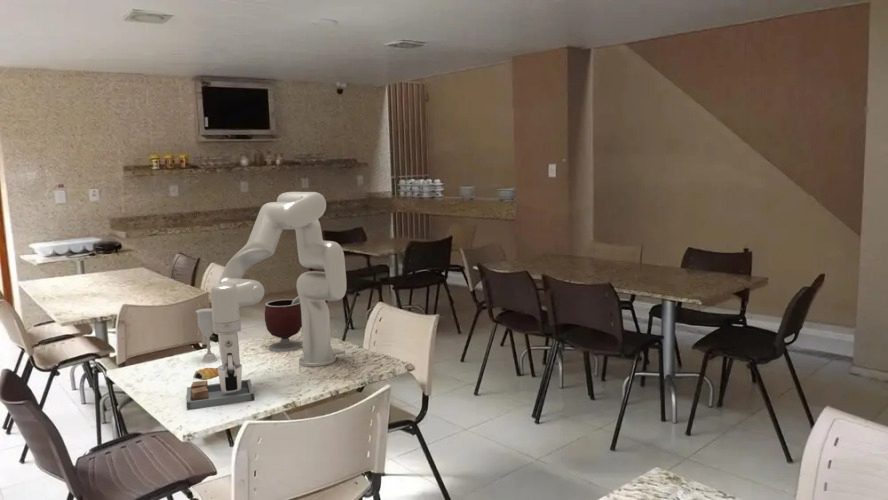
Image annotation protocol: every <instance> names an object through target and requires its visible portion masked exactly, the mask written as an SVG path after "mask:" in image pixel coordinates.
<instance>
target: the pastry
mask: <svg viewBox="0 0 888 500" xmlns="http://www.w3.org/2000/svg"><path fill="white" fill-rule="evenodd" d="M217 377H219V374H218V367H216V368H215V367H205V368H204V367H203V368H201V369H198V370H196V371H195V372H194V374H193V378H194V379H201V381H208V380H212V379H215V378H217Z"/></svg>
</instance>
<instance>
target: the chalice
mask: <svg viewBox="0 0 888 500" xmlns="http://www.w3.org/2000/svg"><path fill="white" fill-rule="evenodd" d="M195 313H196V314H197V326H198V328H199V330H200V332H201V333H202V335H203V336H204V337H206V341H205V343H206V349H207V351H206V353H204V355H203V358H202V360H201V361H202V362H201V363H213V362H216V361H218V358H217V357H216V355H215V353H213V352H212V351H211V348H212V346H211V342H212V341H211V339H210V337H212V336H213V334H214V331H213V318H212V308H200V309H197V310H195Z"/></svg>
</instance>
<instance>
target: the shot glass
mask: <svg viewBox="0 0 888 500" xmlns="http://www.w3.org/2000/svg"><path fill="white" fill-rule="evenodd" d="M226 366H228V365H226ZM233 366H234V364H233ZM217 368H218V374H219V376H218V380H219V383H220V386H221V392H225V393H231V392H236V391H239V390H240V389H241V380H242V374H243V369H242V368H243V365H242V364H241V363H240V366H238V365H235V371H236V376H237V388H238V389H237V390H231V391H226V385H225V377H226V372H225V368H224V367H223V366H222V364H221V365H219V366H217ZM227 370H228V369H227Z"/></svg>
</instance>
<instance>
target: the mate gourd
mask: <svg viewBox="0 0 888 500" xmlns="http://www.w3.org/2000/svg"><path fill="white" fill-rule="evenodd" d="M264 323H265V327H266V330H267V332H269V334H271V336H273V337H276V338H280V342H276V343H272V344H270V345H269V346H268V350H269V351H271V352H277V353H280V352H281V353H283V352H291V351H296V350H299V349H301V348H303V342H300V341H295V340H294V341H293V340H292V341H291V340H290V337H292V336H293V337H294V336H295V335H297V334H299V332H300V330H302V321H301V306H300V300H299V296H296V297H295V298H294V299H287V298H286V299H277V300H276V299H275V300H272V301H271V300H270V301H267V302H266V303H265V307H264Z"/></svg>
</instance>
